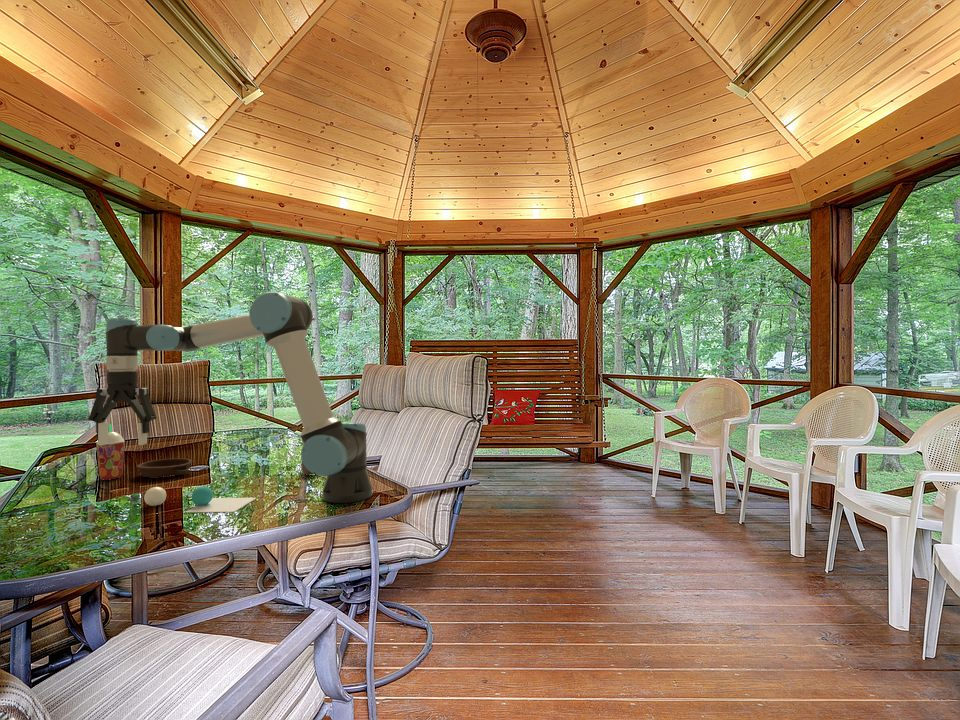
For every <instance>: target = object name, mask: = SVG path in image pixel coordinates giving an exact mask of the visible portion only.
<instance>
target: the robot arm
mask: <svg viewBox="0 0 960 720" xmlns="http://www.w3.org/2000/svg"><path fill="white" fill-rule="evenodd" d="M312 322H313V311H312V309H311V306H310V305H309V303H308V302H306V301H305V300H304V299H302V298H301V297H296V296H293V295H288V294H285V293H284V292H281V291H267V292H264V293H262V294H260V295H258V296H256V298H255V299H254V300H253V302H252V303H251V305H250V308H249V314H245V315H239V316H234V317H230V318H224V319H219V320H214V321H208V322H204V323H198V324H194V325H188V326H184V327H183V326H182V327H179V326H173V325H170V324H169V325H168V324H146V325H138V320H136V319H134V318H119V317H118V318H116V317H115V318H109V319H108V320H106V327H105V341H106V343H105V345H106V369H107V370H108V371H107V372H106V384H107V388H106V387H101V388H97V389H96V393H95V394H96V395H95V399H94V402H93V404H92V407H91V408H92V409H91V411H90V413H89V416H88V421H89V422H94V424H95V432H96V434H97V435H98V436H97V437H98V438H97V442H98V445H105V444H108V432H109V425H108V424H109V422H108V421H107V420H106V419H108V417H109V415H110V413H111V412H112V411H113V409H114V407H116V405H117V404H118V403H126V404H128V405H129V406H130V407H131V409H132V410H133V412H134V414H135V415H136V416H137V418H138V419H139V422H138V423H137V427H138V428H137V429H138V430H137V435H138V437H137V440H138V441H137V445H138V446H143V445H147V444H148V434H149V433H150V422H151V421H153V420H157V415H156V412H155V410H154V407H153V404H152V401H151V398H150V397H149V388H148V387H140V388H138V385H137V384H138V382H139V373H138V371H136V370H138V369H139V366H138V365H139V359H138V358H139V357H138V353H139V352H140V351H158V352H163V351H164V352H166V351H167V352H171V351H172V352H173V351H174V352H175V351H176V352H186V353H189V352H197V351H198V350H200V349H202V348H207V347H212V346H217V345H218V346H219V345H223V344H228V343H229V344H230V343H234V342H239V341H246V340H249V339H251V340H252V339H255V338H262V337H263V338H264V340H265V343H266V345H267V346H268V347H271V348H273V349H274V351H275V353H276V356H277V359H278V361H279V364H280V367H281V370H282V373H283V375H284V379H285V380H286V383H287V386H288V388H289V392H290V394H291V397H292V399H293V403H294V406H295V408H296V411H297V414H298V416H299V419H300V422H301V425H302V426H303V429H302V430H301V432H300V439H301V440H302V444H303V446H302V448H301V451H300V457H301V462H303V464H304V466H305V467H306V468H307V469H308V470H309V471H310V472H312V473H314V474H316V475H315V476H319V477H326V479H325V482H324V486H323V488H322V492H321V493H322V494H321V495H322V500H323V501H324V502H327V503H333V504H335V503H336V504H348V503H355V502H356V503H357V502H360V501H365V500H368V499H369V498H371V497H372V496H373V486H372V483H371V479H370V476H369V473H368V470H367V435H368V433H367V427H366V424H364V423H361V422H360V423H359V422H357V423H355V422H353V423H351V422H350V423H349V422H348V423H347V422H346V423H345V422H343V423H342V420H341V419H340V418H337V417H335V416H334V415H333V412H332V409H331V406H330V404H329V401H328V399H327V398H328V397H327V396H326V392H325V390H324V386H323V385H322V382H321V379H320V376H319V374H318V371H317V368H316V365H315V363H314V360H313V358H312V357H313V356H312V355H311V351H310V349H309V347H308V344H307V341H306V337H307V335H308V332H309V331H308V329H309V328H310V327H311V325H312ZM138 351H139V352H138ZM137 395H138V397H137ZM107 396H108V397H107Z"/></svg>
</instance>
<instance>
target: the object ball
mask: <svg viewBox="0 0 960 720" xmlns="http://www.w3.org/2000/svg"><path fill="white" fill-rule="evenodd" d="M212 498H214V493H213V490H212V489H211V488H210V487H207V486H199V487H197V488H195V489H194V490H193V491H192V494H191V500H192V502H193V504H194V505H195V506H197V505H199V506H202V505H206V504H208V503H209V502H210V501H211V500H212Z"/></svg>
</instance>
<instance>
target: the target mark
mask: <svg viewBox="0 0 960 720" xmlns="http://www.w3.org/2000/svg"><path fill="white" fill-rule="evenodd" d="M256 499H258V497H213V498H212V500H211V501H210V502H209V503H208V504H206V505H202V506H199V505H195V506H194V507H191V508H190V509H188V510H186V511H184V513H187V514H188V513H191V514H192V513H197V514H198V513H201V514H202V513H235V512H237V511H239V510H240V509H242V508H243V507H245V506H247V505H249V504H250V503H251V502H253V501H255V500H256Z"/></svg>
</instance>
